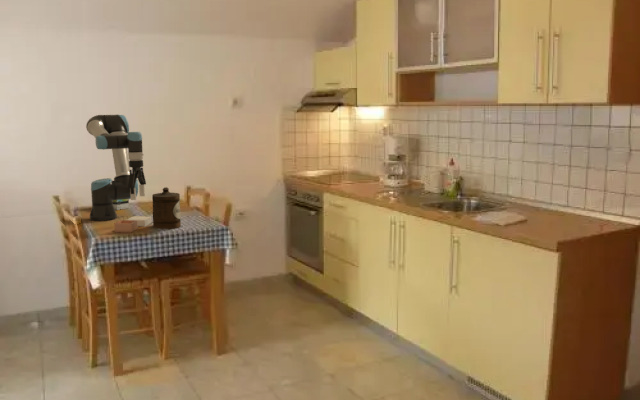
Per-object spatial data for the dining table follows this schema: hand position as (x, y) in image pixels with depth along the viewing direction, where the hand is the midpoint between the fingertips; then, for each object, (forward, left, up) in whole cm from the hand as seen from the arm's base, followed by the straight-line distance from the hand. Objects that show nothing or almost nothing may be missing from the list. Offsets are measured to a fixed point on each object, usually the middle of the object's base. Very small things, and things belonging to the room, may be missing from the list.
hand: (137, 198), depth 333 cm
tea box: (-35, +52, -16) cm, 65 cm away
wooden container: (+17, -3, -16) cm, 23 cm away
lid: (0, 0, -15) cm, 15 cm away
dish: (-1, -16, -15) cm, 22 cm away
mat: (0, 0, -16) cm, 15 cm away
